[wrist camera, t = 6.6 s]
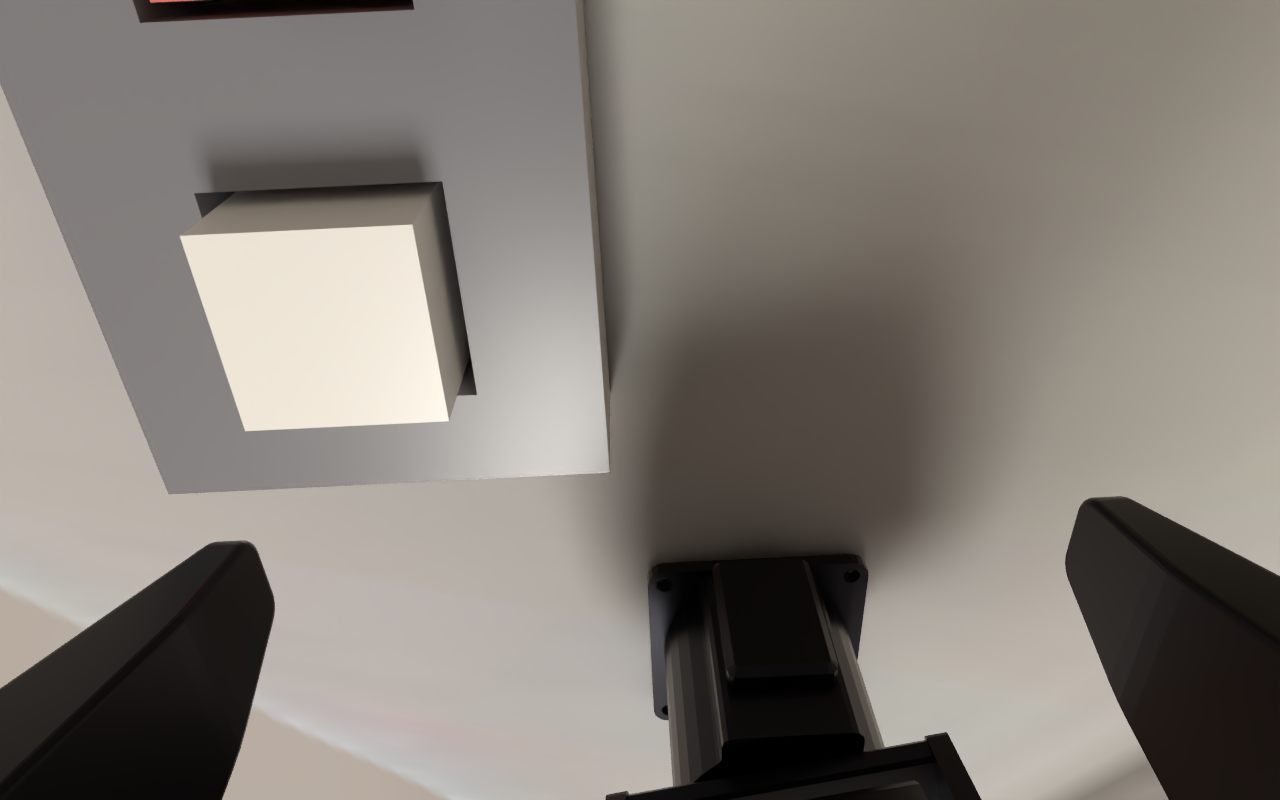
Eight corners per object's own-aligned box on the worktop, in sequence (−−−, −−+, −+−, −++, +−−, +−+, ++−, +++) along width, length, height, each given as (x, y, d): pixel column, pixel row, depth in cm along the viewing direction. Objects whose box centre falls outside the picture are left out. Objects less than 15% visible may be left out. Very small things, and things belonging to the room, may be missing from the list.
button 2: (471, 350, 19) (449, 420, 16) (295, 359, 19) (245, 431, 16) (442, 175, 17) (412, 224, 14) (245, 184, 17) (179, 235, 14)
